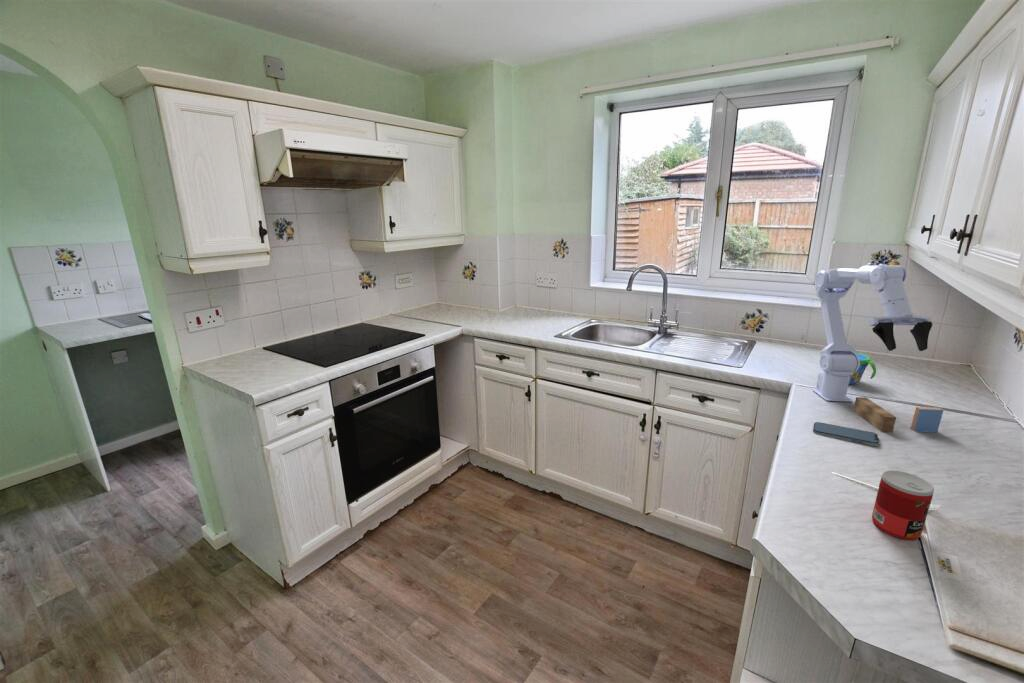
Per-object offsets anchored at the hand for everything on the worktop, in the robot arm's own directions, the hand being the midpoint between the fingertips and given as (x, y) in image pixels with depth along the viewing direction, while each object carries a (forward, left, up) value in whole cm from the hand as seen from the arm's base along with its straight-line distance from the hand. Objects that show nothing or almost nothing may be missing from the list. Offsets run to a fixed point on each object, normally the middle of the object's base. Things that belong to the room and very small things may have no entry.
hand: (907, 349), depth 122 cm
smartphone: (+1, -12, -26) cm, 29 cm away
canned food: (+42, -24, -26) cm, 55 cm away
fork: (+29, -19, -26) cm, 43 cm away
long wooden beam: (-9, +1, -26) cm, 27 cm away
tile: (-4, +12, -26) cm, 29 cm away
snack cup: (-43, +12, -26) cm, 52 cm away
